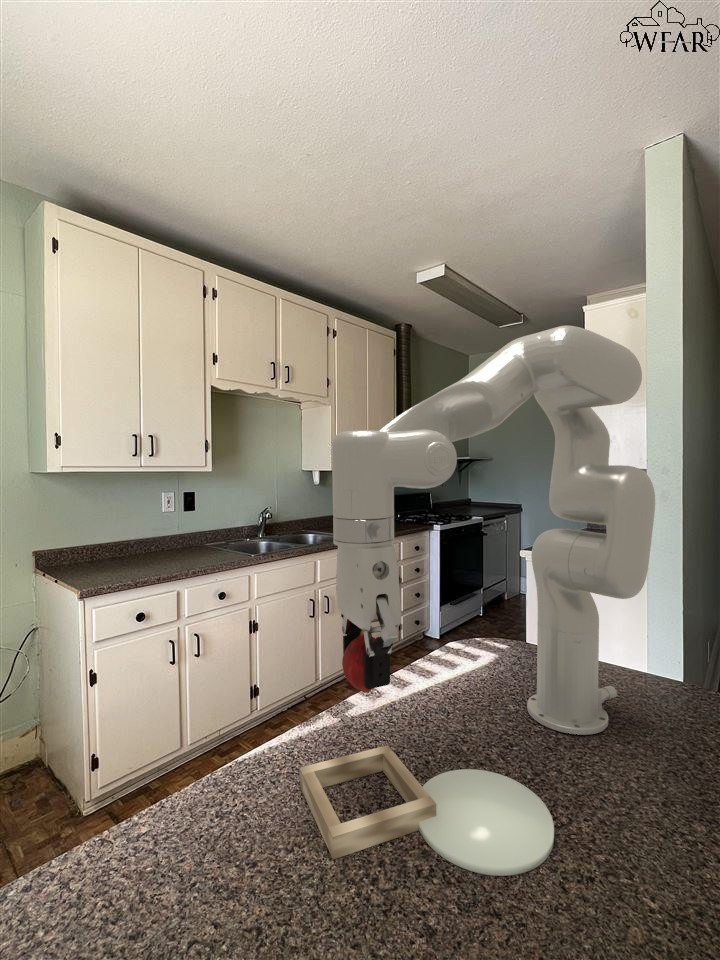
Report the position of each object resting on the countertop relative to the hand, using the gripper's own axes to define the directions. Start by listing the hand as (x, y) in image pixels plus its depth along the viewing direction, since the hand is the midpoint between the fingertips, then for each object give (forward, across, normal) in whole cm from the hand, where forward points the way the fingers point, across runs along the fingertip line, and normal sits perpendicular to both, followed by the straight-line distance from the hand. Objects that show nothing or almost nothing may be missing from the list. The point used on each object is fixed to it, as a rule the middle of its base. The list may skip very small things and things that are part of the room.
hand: (365, 673), depth 60 cm
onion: (+3, 0, 0) cm, 3 cm away
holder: (+17, 0, 0) cm, 17 cm away
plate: (+17, -8, -12) cm, 22 cm away
